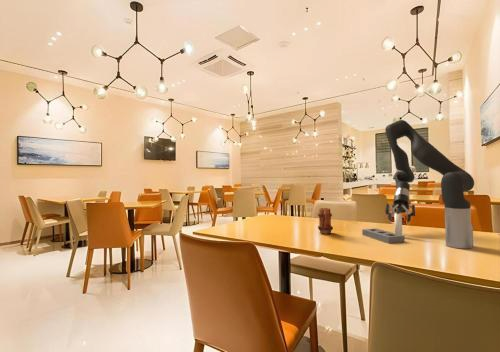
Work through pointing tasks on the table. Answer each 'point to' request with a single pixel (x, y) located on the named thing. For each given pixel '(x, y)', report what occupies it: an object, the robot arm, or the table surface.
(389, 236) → the gray slotted tray
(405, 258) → the table surface
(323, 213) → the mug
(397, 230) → the plug
